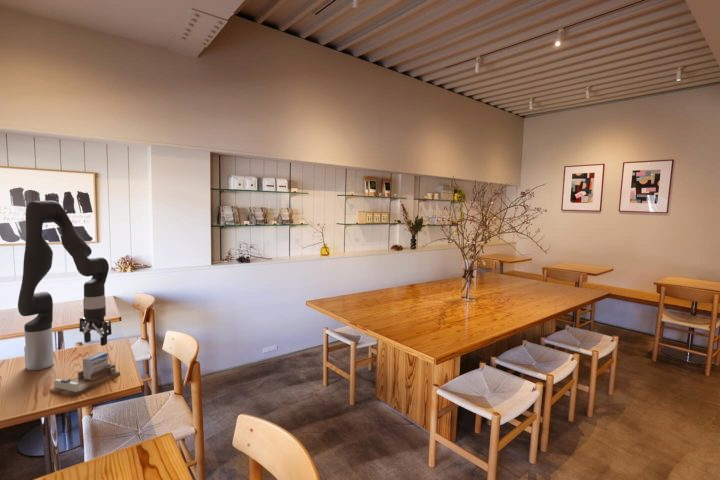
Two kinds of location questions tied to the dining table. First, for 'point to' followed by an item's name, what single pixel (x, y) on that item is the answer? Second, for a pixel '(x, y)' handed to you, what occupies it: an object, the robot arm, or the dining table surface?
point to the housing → (89, 381)
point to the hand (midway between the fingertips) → (95, 343)
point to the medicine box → (94, 364)
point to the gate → (66, 384)
